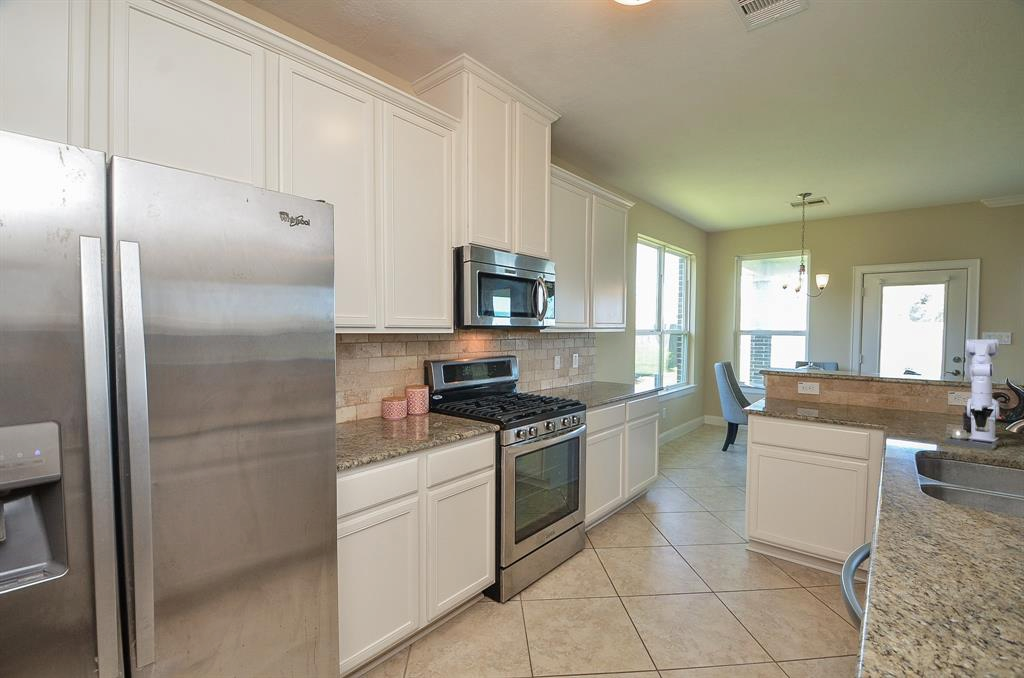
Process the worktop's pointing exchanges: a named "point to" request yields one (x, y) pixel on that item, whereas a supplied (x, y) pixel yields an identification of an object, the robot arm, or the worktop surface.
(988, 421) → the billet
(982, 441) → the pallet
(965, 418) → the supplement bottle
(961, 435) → the billet
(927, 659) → the worktop surface
